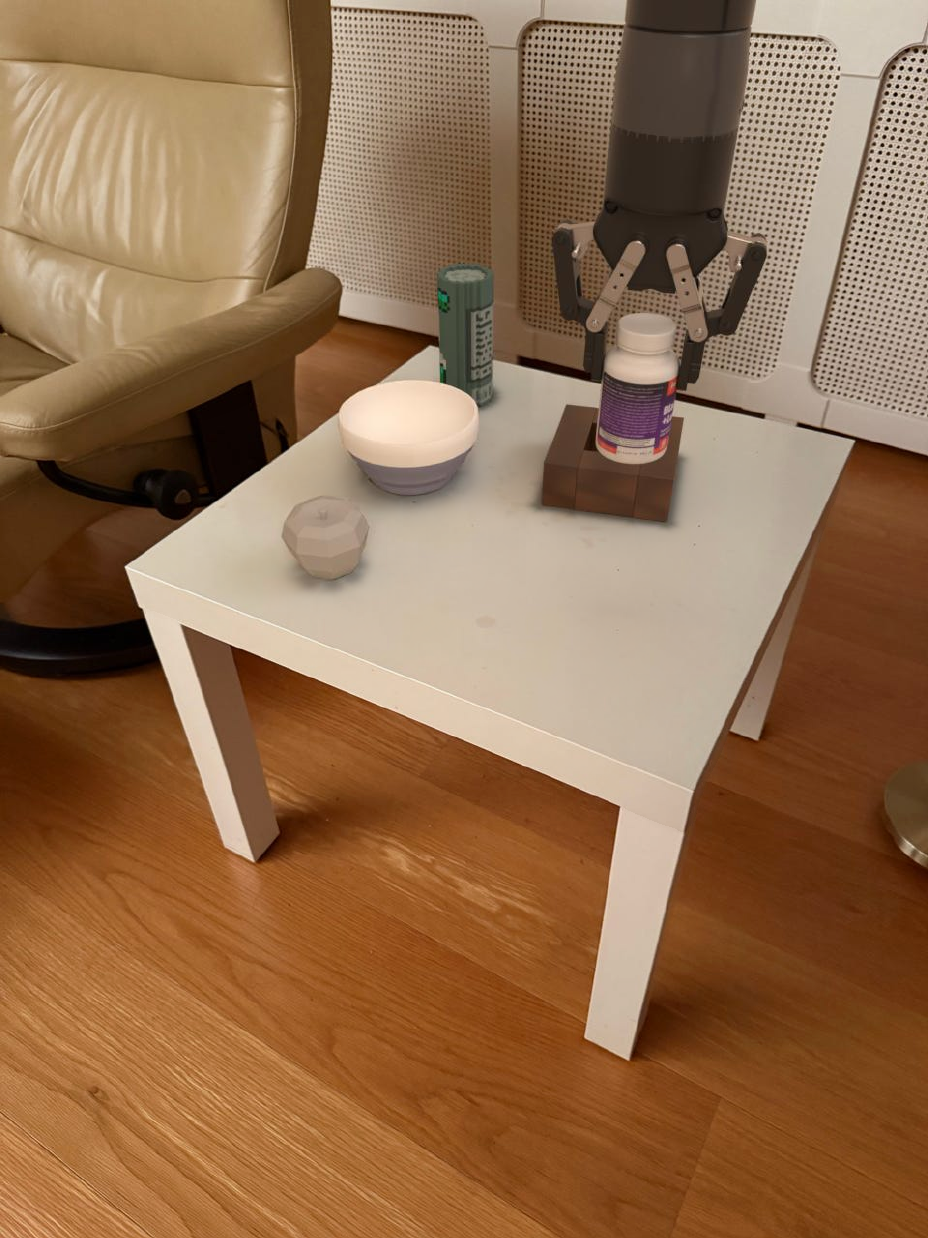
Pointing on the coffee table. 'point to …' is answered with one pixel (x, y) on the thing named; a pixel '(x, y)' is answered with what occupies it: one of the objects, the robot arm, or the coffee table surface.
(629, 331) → the pill bottle
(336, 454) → the coffee table surface
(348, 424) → the bowl
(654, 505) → the socket pad
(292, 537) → the apple
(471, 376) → the can
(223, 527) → the coffee table surface
